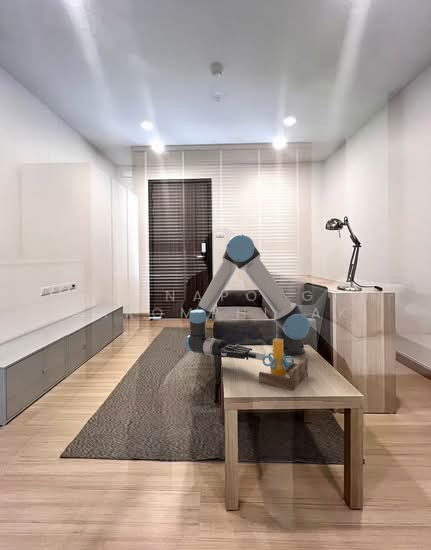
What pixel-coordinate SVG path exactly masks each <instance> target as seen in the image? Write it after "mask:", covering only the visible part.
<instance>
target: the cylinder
mask: <svg viewBox="0 0 431 550" xmlns="http://www.w3.org/2000/svg"><path fill="white" fill-rule="evenodd" d="M275 338H276V337H275ZM275 338H273V339H272V352H270V353H268V355H265V357H264V358H263V360H261V361H262V364H263V365H264V366H265V367H269V368H270V374H274V375H279V376H283V377H287V372H286V370H287V369H288V368H289V366H292V365H293V363H295V359H294V357H293V356H292V355H285V354H284V353H283V339H279V338H276V339H275ZM266 359H268V361H269V363H266V362H265V361H266ZM288 359H290V360H291V362H290V361H288ZM285 362H286V363H287V364H286V363H285ZM289 362H290V363H291V364H289ZM286 366H287V367H286Z"/></svg>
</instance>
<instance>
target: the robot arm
mask: <svg viewBox="0 0 431 550" xmlns="http://www.w3.org/2000/svg"><path fill="white" fill-rule="evenodd" d="M237 269H238V270H242V271H244V273H245V274H246V275H247V276H248V278H249V280H250V281H251V282H252V283H253V285H254V286H255V288H256V289H257V290H258V292H259V293H260V295H261V296H262V298H263V299H264V301H265V302H266V303H267V305H268V306H269V307H270V309H271V310H272V312H273V313H274V316H273V318H274V320H275V321H276V336H275V338H274V339H276V338H279V339H283V353H284V354H285V356H297V355H302V354H303V353H305V346H304V342H303V340H302V339H303V338H305V337H306V336H307V335H308V334H309V332H310V331H311V330H310V329H311V324H310V320H309V318H308V317H307V316H306V315H304V314H303V312H302V309H301V305H300V304H296V302H291V301H290V299H289V298H288V297H287V295H286V294H285V292H284V291H283V290H282V287H280V286H279V284H278V282H277V281H276V280H275V279H274V277H273V275H272V274H271V273H270V271H269V270H268V268H267V267H266V265H265V264H264V263H263V261H262V260H261V253H260V252H259V250H258V249H257V247H256V246H255V244H254V241H253V240H252V238H250V237H249V236H248V235H246V234H243V233H242V234H241V233H239V234H235V235H233V236H232V237H230V238H229V239H228V241H227V242H226V249H225V251H224V254H223V255H222V261H221V263H220V265H219V267H218V269H217V271H216V272H215V273H214V276H213V278H212V279H211V282H210V283H209V285H208V287H207V288H206V290H205V292H204V294H203V296H202V298H201V300H200V301H199V303H198V304H197V307H196V309H193V310H191V311H189V318H188V319H189V335H187V336H186V338H185V341H184V346H185V350H187V351H189V352H192V353H197V354H202V355H205V356H206V355H207V356H209V357H217V358H228V359H229V358H230V359H238V360H239V359H240V360H245V359H246V361H248V360H249V359H252V360H258V361H262V360H263V358H264V357H265V356H266V352H262V351H256V350H253V348H252V347H248V346H244V345H240V344H239V343H236V344H235V345H233V344H228V343H227V341H226V340H224V339H219V338H218V339H217V338H213V337H207V322H208V320H209V318H210V316H211V314H212V312H213V311H214V309H215V307H216V305H217V303H218V302H219V300H220V298H221V296H222V294H223V293H224V291H225V290H226V287H227V286H228V284H229V282H230V281H231V279H232V278H233V275H234V273H235V272H236V270H237Z"/></svg>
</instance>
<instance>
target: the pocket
mask: <svg viewBox="0 0 431 550" xmlns="http://www.w3.org/2000/svg"><path fill="white" fill-rule="evenodd" d="M308 360H309V359H308V358H307V357H304V358H302V360H300V361H299V362H298V363H295V362H294V363H293V365H292V366H289V368H288V369H287V370H286V374H289V377H287V376H286V377H283V376H279V375H274V374H271V372H270V373H269V372H264V371H259V372H258V383H259V384H262V385H267V386H270V387H275V388H279V389H284V390H287V391H291V392H293V391H294V390H295V389H297V387H298V386H299V385H301V383H302V382H303V381H304V380H305V379H306V378H307V377H308V368H309V367H308V366H309V364H308V363H309V361H308ZM288 362H289V364H291V363H292V362H290V361H288ZM285 363H286V361H285ZM286 364H287V363H286ZM286 367H287V366H286Z"/></svg>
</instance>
